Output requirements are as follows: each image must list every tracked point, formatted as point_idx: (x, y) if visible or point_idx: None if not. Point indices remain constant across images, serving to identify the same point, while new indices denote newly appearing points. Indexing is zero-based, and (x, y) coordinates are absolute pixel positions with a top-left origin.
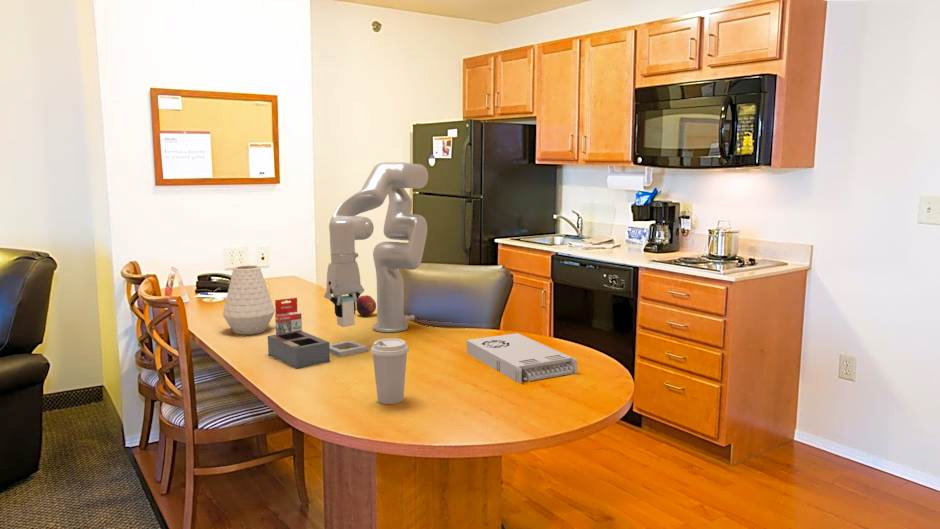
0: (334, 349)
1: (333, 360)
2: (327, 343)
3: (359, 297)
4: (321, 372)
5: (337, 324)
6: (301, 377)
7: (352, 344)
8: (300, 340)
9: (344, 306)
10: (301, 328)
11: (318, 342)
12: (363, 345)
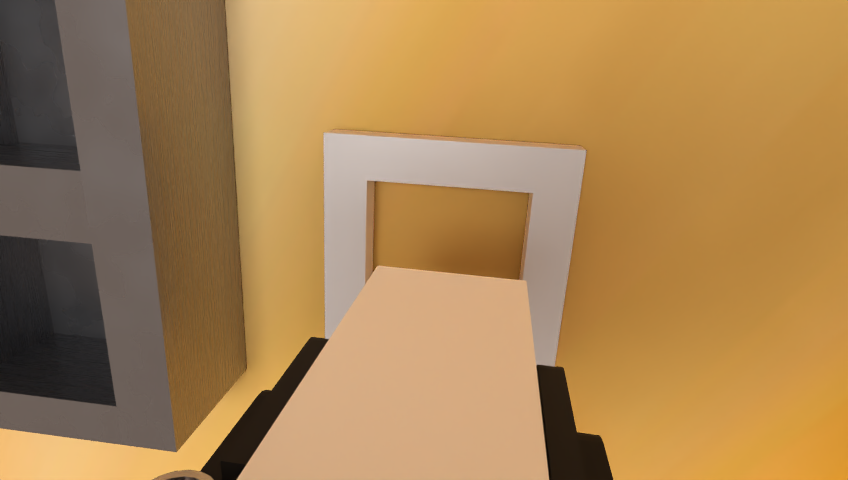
0: (334, 280)
1: (273, 366)
2: (165, 444)
3: None
4: (132, 475)
5: (376, 271)
6: (28, 465)
7: (526, 244)
8: (16, 234)
9: None
10: None
11: (116, 385)
12: (552, 345)
